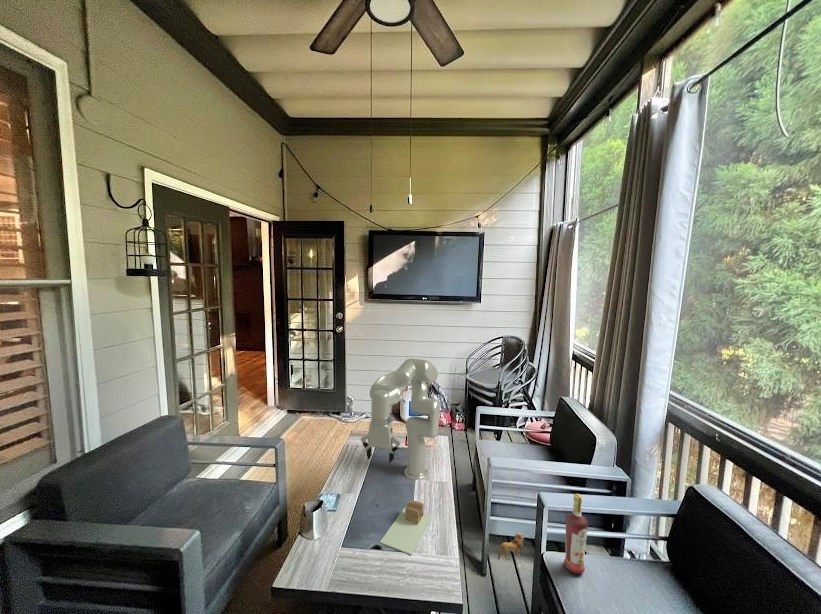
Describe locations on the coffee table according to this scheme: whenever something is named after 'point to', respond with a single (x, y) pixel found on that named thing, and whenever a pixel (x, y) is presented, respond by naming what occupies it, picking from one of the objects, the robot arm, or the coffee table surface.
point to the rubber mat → (406, 533)
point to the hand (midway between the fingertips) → (380, 459)
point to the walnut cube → (414, 512)
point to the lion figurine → (512, 545)
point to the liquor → (575, 537)
